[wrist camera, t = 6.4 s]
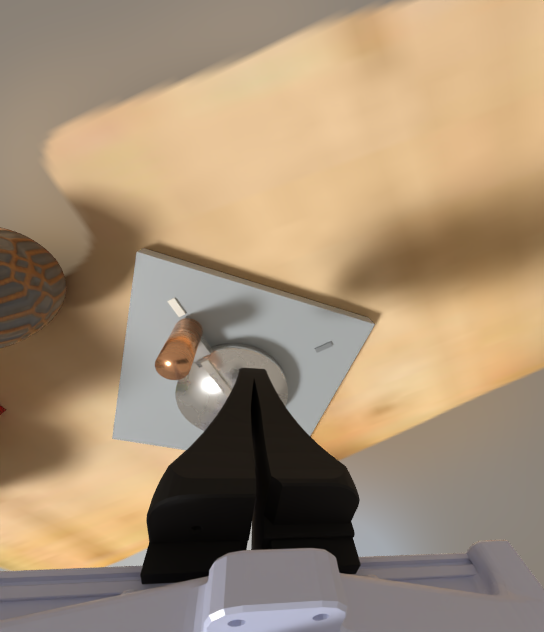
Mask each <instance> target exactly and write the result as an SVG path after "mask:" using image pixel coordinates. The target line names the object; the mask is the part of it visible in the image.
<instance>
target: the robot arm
mask: <svg viewBox="0 0 544 632" xmlns="http://www.w3.org/2000/svg"><path fill="white" fill-rule="evenodd" d="M358 504H359V495H358V492H357V489H356V487H355V484H354V482H353V480H352V478H351V476H350V474H349V472H348V470H347V468H346V466H344V465H343V464H342V463H340V462H339V461H338V460H337V459H335V458H334V457H333V456H331V455H330V454H329V453H328V452H326V451H325V450H324V449H323V448H322V447H321V446H319V445H318V444H317V443H316V442H315V441H314V440H313V439H312V438H311V437H310V436H309V435H308V434H307V433H306V432H305V431H304V429H303V428H302V427H301V426H300V425H299V424H298V423H297V421H296V420H295V419H294V418H293V416H292V415H291V414H290V412H289V411H288V409H287V408H286V406H285V405H284V403H283V402H282V400H281V399H280V397H279V395H278V394H277V392H276V390H275V388H274V386H273V384H272V382H271V380H270V378H269V376H268V374H267V371H266V370H265V369H258V368H240V369H239V373H238V377H237V380H236V382H235V384H234V387H233V389H232V391H231V393H230V395H229V397H228V398H227V400H226V402H225V403H224V405H223V407H222V408H221V410H220V411H219V413H218V414H217V416H216V417H215V418H214V420H213V421H212V422H211V423H210V425H209V426H208V427H207V428H206V430H205V431H204V432H203V433H202V434H201V435H200V437H199V438H198V439H197V440H196V441H195V442H194V443H193V444H192V445H191V446H190V447H189V448H188V449H187V450H186V451H185V452H184V453H183V454H182V455H180V456H179V457H178V458H177V459H176V460H175V461H174V462H173V463H171V464H170V465H169V466H168V468H167V470H166V471H165V473H164V475H163V477H162V478H161V480H160V482H159V484H158V486H157V488H156V491H155V493H154V495H153V498H152V501H151V504H150V507H149V510H148V513H147V528H148V535H149V546H148V549H147V553H146V556H145V560H144V563H143V566H125V567H99V568H74V569H49V570H24V571H0V632H544V588H543V587H542V586H541V584H540V583H539V581H538V580H537V579H536V578H535V576H534V575H533V573H532V572H531V571H530V569H529V568H528V567H527V565H526V564H525V563H524V561H523V560H522V559H521V557H520V556H519V555H518V553H517V552H516V551H515V549H514V548H513V547H512V545H511V544H510V543H509V541H507V540H487V541H486V540H484V541H478V542H476V543H474V544H472V545H471V546H470V547H469V549H468V551H467V553H451V554H426V555H400V556H374V557H358V554H357V550H356V547H355V544H354V540H353V537H354V529H353V526H352V523H351V520H352V518H353V516H354V513H355V511H356V509H357V507H358ZM251 523H252V549H251V550H246V548H247V542H248V540H249V535H250V529H251Z"/></svg>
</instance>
